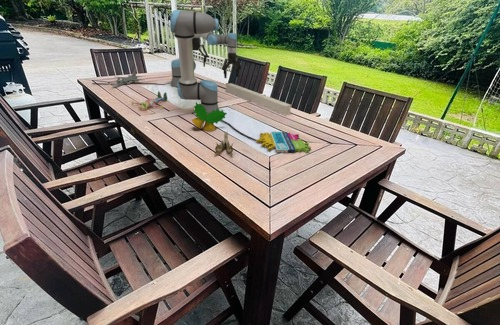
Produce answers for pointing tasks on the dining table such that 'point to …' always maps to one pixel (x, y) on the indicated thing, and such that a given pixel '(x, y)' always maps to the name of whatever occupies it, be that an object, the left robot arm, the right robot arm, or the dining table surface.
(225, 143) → the jawbone
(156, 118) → the dining table surface
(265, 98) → the post
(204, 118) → the ornament
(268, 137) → the sign
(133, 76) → the airplane
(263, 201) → the dining table surface
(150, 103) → the toy
